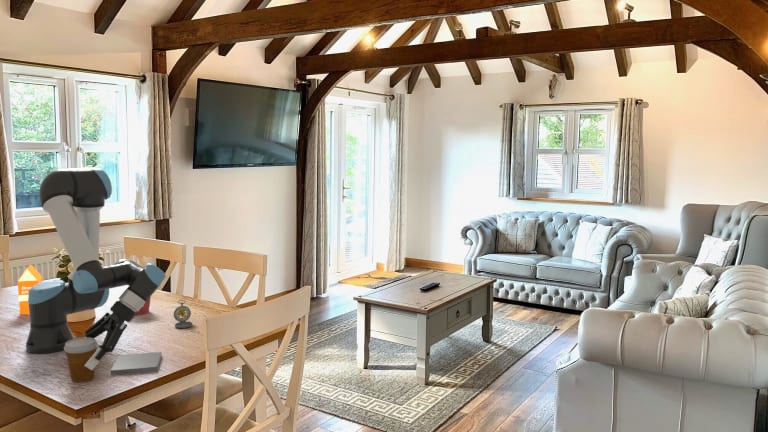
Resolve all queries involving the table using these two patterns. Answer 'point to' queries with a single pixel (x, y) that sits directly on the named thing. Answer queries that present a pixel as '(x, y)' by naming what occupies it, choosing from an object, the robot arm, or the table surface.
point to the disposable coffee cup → (80, 358)
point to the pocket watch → (181, 311)
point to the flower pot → (144, 308)
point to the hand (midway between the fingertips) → (81, 362)
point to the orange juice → (27, 287)
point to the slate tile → (136, 363)
